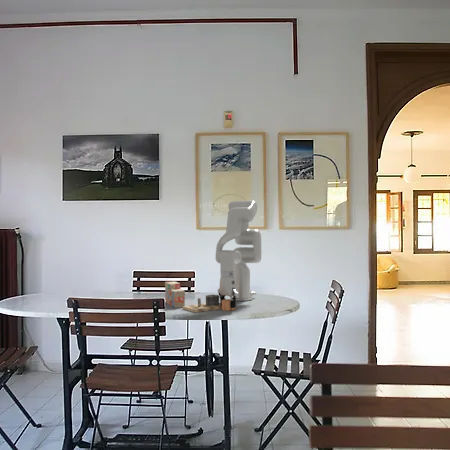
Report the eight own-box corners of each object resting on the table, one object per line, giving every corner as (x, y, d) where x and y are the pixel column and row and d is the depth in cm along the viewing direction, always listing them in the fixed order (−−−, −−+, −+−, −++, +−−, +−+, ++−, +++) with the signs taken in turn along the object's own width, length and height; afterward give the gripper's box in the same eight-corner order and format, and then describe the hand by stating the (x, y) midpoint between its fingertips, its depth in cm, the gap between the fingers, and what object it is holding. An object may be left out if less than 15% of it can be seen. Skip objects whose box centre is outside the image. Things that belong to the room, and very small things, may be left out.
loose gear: (229, 307, 264) (229, 298, 264) (238, 309, 259) (237, 300, 259) (219, 309, 260) (218, 300, 260) (227, 311, 254) (227, 301, 254)
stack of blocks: (185, 307, 268) (184, 285, 268) (174, 308, 266) (173, 286, 266) (175, 301, 288) (175, 281, 288) (165, 302, 286) (164, 281, 286)
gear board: (214, 304, 275) (214, 292, 275) (229, 307, 265) (228, 294, 265) (182, 309, 262) (182, 296, 262) (196, 312, 252) (196, 299, 251)
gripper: (243, 275, 255) (243, 308, 255) (223, 272, 268) (223, 303, 269) (232, 276, 250) (232, 309, 250) (212, 273, 264) (212, 305, 264)
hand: (227, 306), depth 259 cm, fingers open, 8 cm apart
